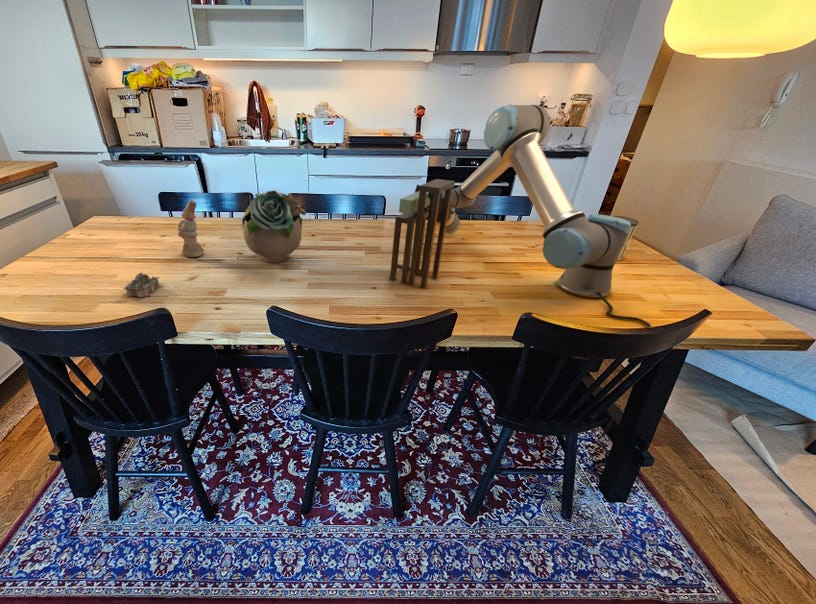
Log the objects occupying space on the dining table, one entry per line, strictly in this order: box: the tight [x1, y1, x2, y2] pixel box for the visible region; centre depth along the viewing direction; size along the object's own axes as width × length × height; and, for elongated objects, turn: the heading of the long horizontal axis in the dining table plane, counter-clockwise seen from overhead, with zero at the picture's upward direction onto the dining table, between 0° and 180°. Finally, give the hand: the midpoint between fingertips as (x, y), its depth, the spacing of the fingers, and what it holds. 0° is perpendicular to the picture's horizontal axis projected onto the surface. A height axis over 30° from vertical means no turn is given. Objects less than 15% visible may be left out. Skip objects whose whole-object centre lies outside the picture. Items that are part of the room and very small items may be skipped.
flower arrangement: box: [241, 189, 307, 263], centre depth 144 cm, size 25×25×24 cm
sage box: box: [398, 191, 431, 214], centre depth 127 cm, size 20×4×4 cm, turn 145°
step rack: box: [389, 178, 456, 289], centre depth 128 cm, size 12×13×31 cm
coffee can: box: [611, 215, 640, 261], centre depth 152 cm, size 10×10×14 cm
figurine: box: [177, 199, 204, 258], centre depth 148 cm, size 9×8×20 cm
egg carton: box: [122, 271, 161, 298], centre depth 126 cm, size 11×8×4 cm
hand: (423, 190), depth 127 cm, fingers closed on sage box, 4 cm apart
